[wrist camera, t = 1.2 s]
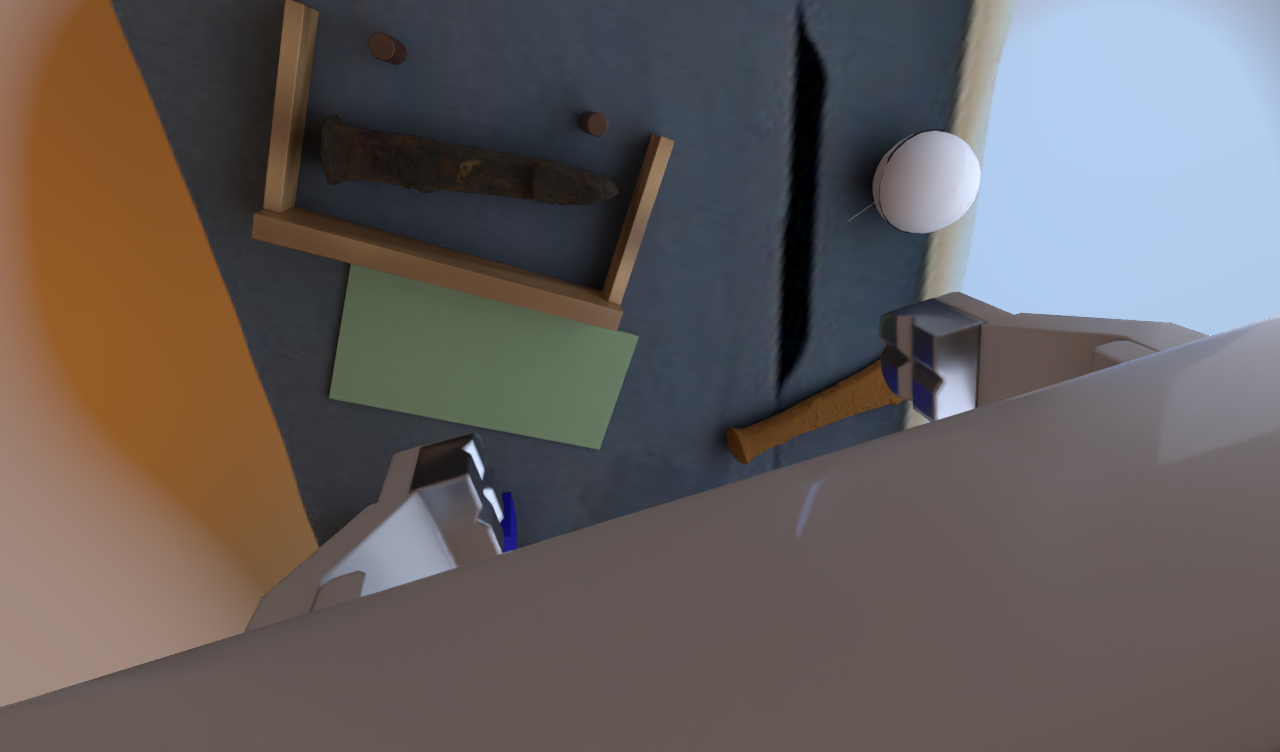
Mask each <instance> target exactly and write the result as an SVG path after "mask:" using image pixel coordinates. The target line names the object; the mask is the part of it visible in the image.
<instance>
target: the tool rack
mask: <svg viewBox="0 0 1280 752" xmlns="http://www.w3.org/2000/svg"><path fill="white" fill-rule="evenodd" d="M318 17H319V12H318V11H317V10H314V9H312V8H310V7H308V6H306V5H304V4H301V3H298V2H295V1H293V0H285V8H284V17H283V26H282V36H281V45H280V54H279V64H278V73H277V82H276V92H275V101H274V110H273V120H272V129H271V139H270V148H269V157H268V167H267V176H266V185H265V195H264V204H263V210H260V211H258V212H256V213H254V217H253V227H252V236H251V237H252V238H253V239H257V240H261V241H264V242H268V243H272V244H276V245H280V246H284V247H288V248H292V249H296V250H300V251H304V252H308V253H311V254H315V255H319V256H323V257H327V258H331V259H335V260H339V261H343V262H347V263H351V264H355V265H359V266H362V267H366V268H370V269H374V270H378V271H382V272H386V273H390V274H394V275H398V276H402V277H406V278H409V279H413V280H417V281H421V282H425V283H429V284H433V285H437V286H441V287H445V288H449V289H453V290H457V291H460V292H464V293H468V294H472V295H476V296H480V297H484V298H488V299H492V300H496V301H500V302H504V303H507V304H511V305H515V306H519V307H523V308H527V309H531V310H535V311H539V312H543V313H547V314H551V315H555V316H558V317H562V318H566V319H570V320H574V321H578V322H582V323H586V324H590V325H594V326H598V327H602V328H605V329H609V330H613V331H617V329H618V326H619V323H620V321H621V318H622V315H623V310H622V308H621V307H620V304H621V301H622V298H623V295H624V292H625V289H626V286H627V283H628V280H629V277H630V274H631V271H632V268H633V265H634V262H635V259H636V256H637V253H638V250H639V247H640V244H641V241H642V238H643V235H644V232H645V229H646V226H647V223H648V220H649V217H650V214H651V211H652V208H653V205H654V202H655V199H656V196H657V193H658V190H659V187H660V183H661V180H662V177H663V174H664V171H665V168H666V165H667V162H668V159H669V156H670V153H671V150H672V147H673V144H674V141H673V140H670V139H667V138H665V137H662V136H658V135H654V134H652V136H651V139H650V142H649V145H648V148H647V151H646V155H645V158H644V161H643V164H642V167H641V170H640V173H639V177H638V180H637V183H636V186H635V189H634V192H633V196H632V199H631V202H630V205H629V208H628V211H627V214H626V218H625V221H624V224H623V227H622V230H621V233H620V237H619V240H618V243H617V246H616V249H615V252H614V255H613V259H612V262H611V265H610V268H609V271H608V274H607V277H606V281H605V284H604V287H603V290H602V291H601V290H597V289H594V288H590V287H586V286H583V285H579V284H575V283H572V282H568V281H564V280H561V279H557V278H554V277H550V276H546V275H543V274H539V273H535V272H532V271H528V270H524V269H521V268H517V267H514V266H510V265H506V264H503V263H499V262H495V261H492V260H488V259H484V258H481V257H477V256H473V255H470V254H466V253H463V252H459V251H455V250H452V249H448V248H444V247H441V246H437V245H433V244H430V243H426V242H422V241H419V240H415V239H412V238H408V237H404V236H401V235H397V234H393V233H390V232H386V231H382V230H379V229H375V228H372V227H368V226H364V225H361V224H357V223H353V222H350V221H346V220H342V219H339V218H335V217H331V216H328V215H324V214H321V213H317V212H313V211H310V210H306V209H302V208H299V207H295V201H296V193H297V185H298V177H299V169H300V161H301V153H302V145H303V137H304V129H305V121H306V113H307V105H308V97H309V89H310V81H311V73H312V65H313V57H314V49H315V41H316V33H317V25H318ZM369 49H370V51H371V53H372V54H373V55H374V56H375V57H376V58H377V59H380V60H383V61H386V62H389V63H392V64H401V63H402V62H404V60H405V59H406V49H405V47H404V45H403V44H402V43H401V42H400V41H398V40H396V39H394V38H392V37H390V36H388V35H386V34H384V33H375V34H373V35H372V36H371V37H370V39H369ZM580 126H581V128H582V130H583V131H585V132H586V133H589V134H591V135H594V136H597V137H599V136H602V135H604V134H605V133H606V132H607V130H608V127H609V123H608V119H607V118H606V116H605V115H603V114H601V113H596V112H585V113H584V114H583V115H582V116H581V118H580Z"/></svg>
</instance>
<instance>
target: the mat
mask: <svg viewBox="0 0 1280 752" xmlns="http://www.w3.org/2000/svg"><path fill="white" fill-rule="evenodd" d="M638 337H639V336H638V335H636V334H632V333H628V332H624V331H620V330H617V331H613V330H609V329H605V328H602V327H598V326H594V325H590V324H586V323H582V322H578V321H574V320H570V319H566V318H562V317H558V316H555V315H551V314H547V313H543V312H539V311H535V310H531V309H527V308H523V307H519V306H515V305H511V304H507V303H504V302H500V301H496V300H492V299H488V298H484V297H480V296H476V295H472V294H468V293H464V292H460V291H457V290H453V289H449V288H445V287H441V286H437V285H433V284H429V283H425V282H421V281H417V280H413V279H409V278H406V277H402V276H398V275H394V274H390V273H386V272H382V271H378V270H374V269H370V268H366V267H362V266H359V265H355V264H351V265H350V271H349V277H348V284H347V290H346V296H345V302H344V308H343V314H342V320H341V327H340V333H339V339H338V345H337V351H336V357H335V363H334V370H333V376H332V382H331V388H330V394H329V398H330V399H335V400H341V401H346V402H351V403H356V404H362V405H367V406H372V407H377V408H383V409H388V410H393V411H398V412H404V413H409V414H414V415H419V416H425V417H430V418H435V419H441V420H446V421H451V422H456V423H462V424H467V425H472V426H477V427H483V428H488V429H493V430H498V431H504V432H509V433H514V434H519V435H525V436H530V437H535V438H540V439H546V440H551V441H556V442H562V443H567V444H572V445H577V446H583V447H588V448H593V449H598V450H599V449H600V446H601V443H602V441H603V438H604V435H605V432H606V429H607V426H608V423H609V421H610V418H611V415H612V412H613V409H614V406H615V403H616V400H617V398H618V395H619V392H620V389H621V386H622V383H623V380H624V378H625V375H626V372H627V369H628V366H629V363H630V360H631V358H632V355H633V352H634V349H635V346H636V343H637V340H638Z"/></svg>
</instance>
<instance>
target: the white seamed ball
mask: <svg viewBox="0 0 1280 752" xmlns="http://www.w3.org/2000/svg"><path fill="white" fill-rule="evenodd" d="M980 176H981V172H980V167H979V161H978V160H977V158H976V156H975V155H974V153H973V151H972V150H971V148H970V146H969V145H968V144H967V143H966V142H964V141H963V140H962V139H960V138H959V137H957V136H954V135H952V134H949V133H945V132H944V130H939V129H930V130H924V131H921V132H918V133H916V134H913V135H910V136H908V137H907V138H905V139H903V140H901V141H899V142H898V143H897V144H896V145H895V146H894V147H893V148H892V149H891V150H890V151H889V152H887V153H886V154H885V155H884V157H883V158H882V160H881V162H880V163H879V165H878V166H877V169H876V172H875V175H874V178H873V197H874V200H875V202H874V203H875V204H876V208H877V210H878V211H879V213H880V214H881V216H882V217H883V218H884V220H886V221H887V222H888V223H889V224H890V225H891V226H892V227H894V228H895V229H897V230H899V231H902V232H905V233H911V232H913V233H928V232H933V231H937V230H940V229H942V228H944V227H946V226H948V225H949V224H951V223H953V222H955V221H957V220H958V219H959V218H960V217H961V216H962V215H963V214H964V213H965V212H967V210H968V209H969V207H970V206H971V204H972V203H973V201H974V199H975V197H976V194H977V192H978V189H979V185H980ZM874 203H873V204H874ZM871 205H872V204H871ZM871 205H870V206H871ZM868 207H869V206H868ZM868 207H867V208H868ZM867 208H866V209H867ZM864 210H865V209H864ZM864 210H863V211H864ZM863 211H862V212H863ZM860 213H861V212H860ZM860 213H859V214H860ZM857 215H858V214H857ZM857 215H856V216H857ZM854 217H855V216H854ZM854 217H853V218H854ZM850 220H851V219H850ZM850 220H849V221H850Z"/></svg>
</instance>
